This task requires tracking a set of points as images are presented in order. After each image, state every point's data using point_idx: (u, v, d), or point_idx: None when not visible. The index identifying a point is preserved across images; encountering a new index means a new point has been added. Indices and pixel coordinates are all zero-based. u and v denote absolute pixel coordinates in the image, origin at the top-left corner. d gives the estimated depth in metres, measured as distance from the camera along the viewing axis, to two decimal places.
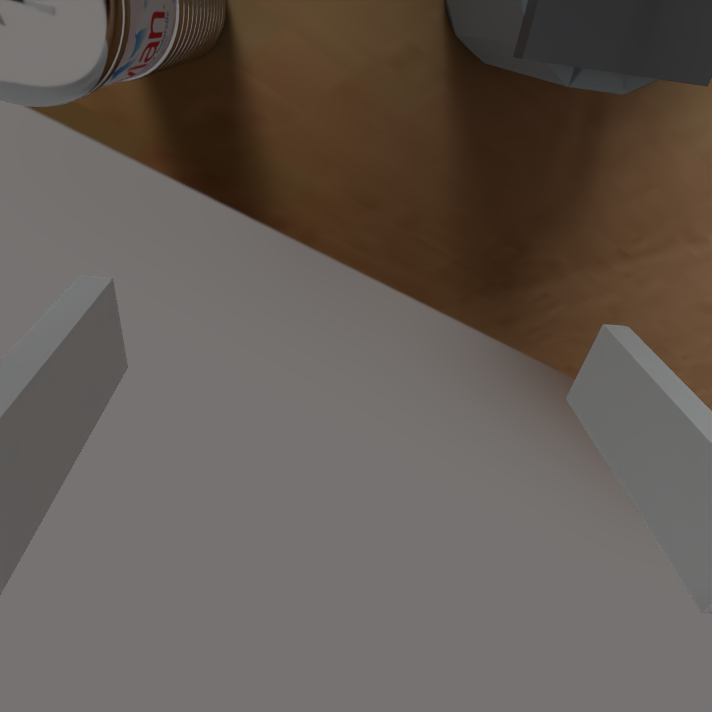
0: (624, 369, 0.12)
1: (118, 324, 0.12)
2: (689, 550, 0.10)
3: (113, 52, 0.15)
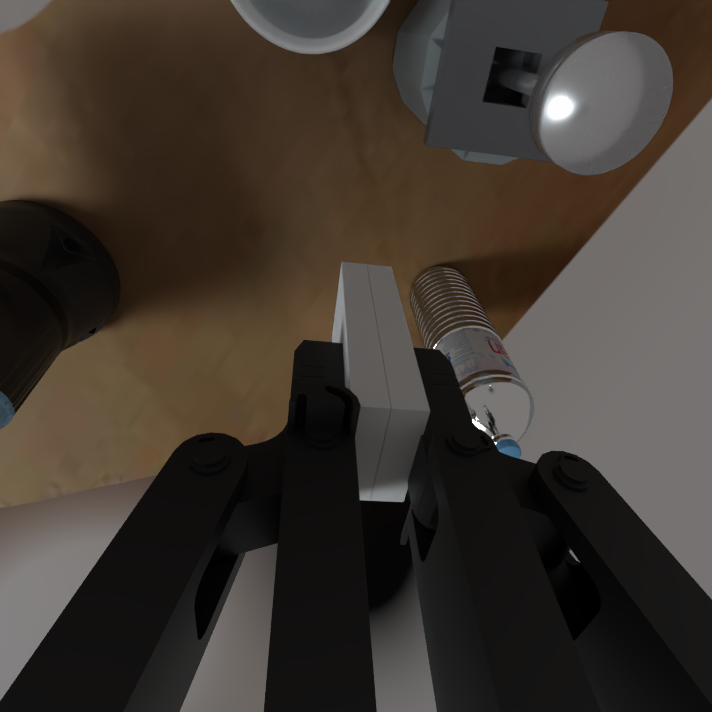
0: None
1: None
2: None
3: (521, 384, 0.36)
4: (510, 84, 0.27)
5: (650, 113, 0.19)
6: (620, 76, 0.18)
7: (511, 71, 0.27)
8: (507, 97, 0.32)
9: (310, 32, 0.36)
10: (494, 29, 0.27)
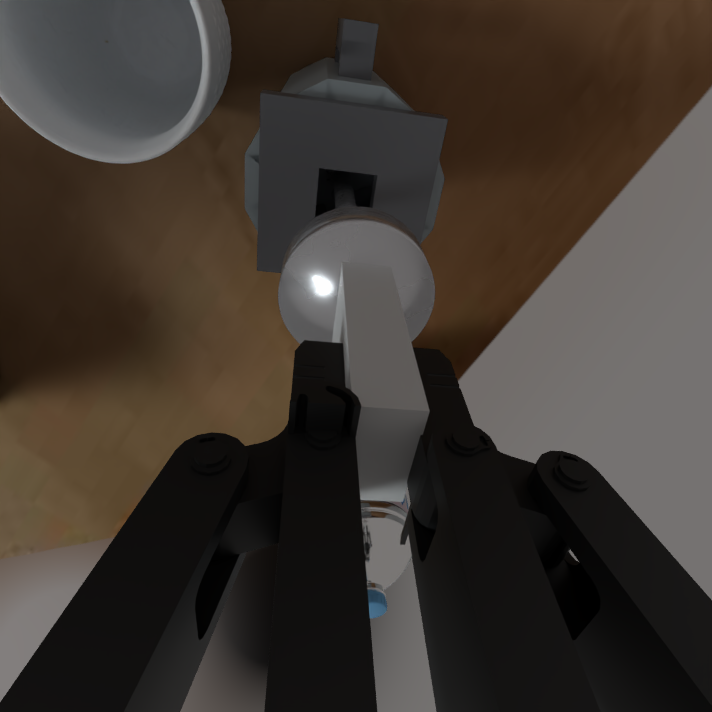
0: None
1: None
2: None
3: (396, 519, 0.32)
4: None
5: (414, 303, 0.16)
6: None
7: (338, 189, 0.24)
8: (362, 198, 0.29)
9: (158, 116, 0.32)
10: (313, 150, 0.22)
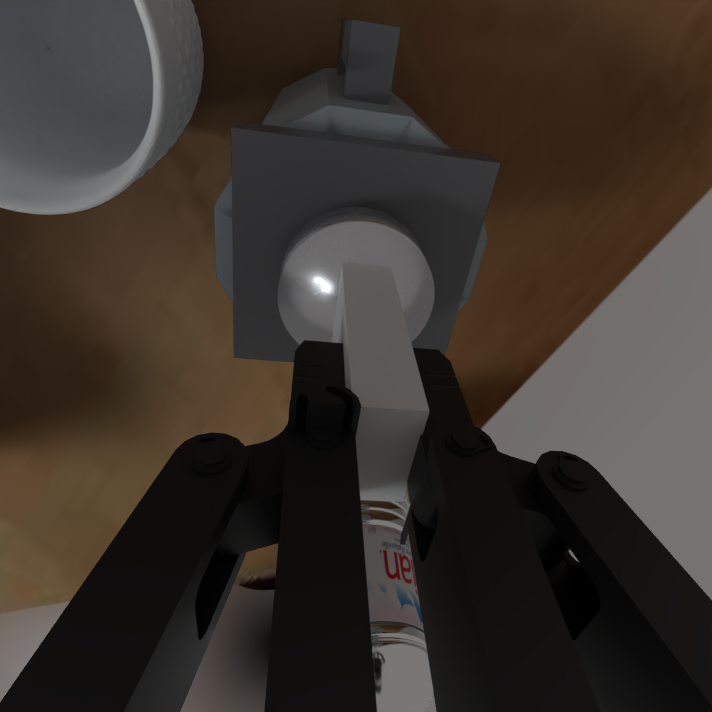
0: None
1: None
2: None
3: (415, 649, 0.25)
4: None
5: (413, 303, 0.15)
6: None
7: None
8: None
9: (114, 142, 0.25)
10: (309, 205, 0.16)
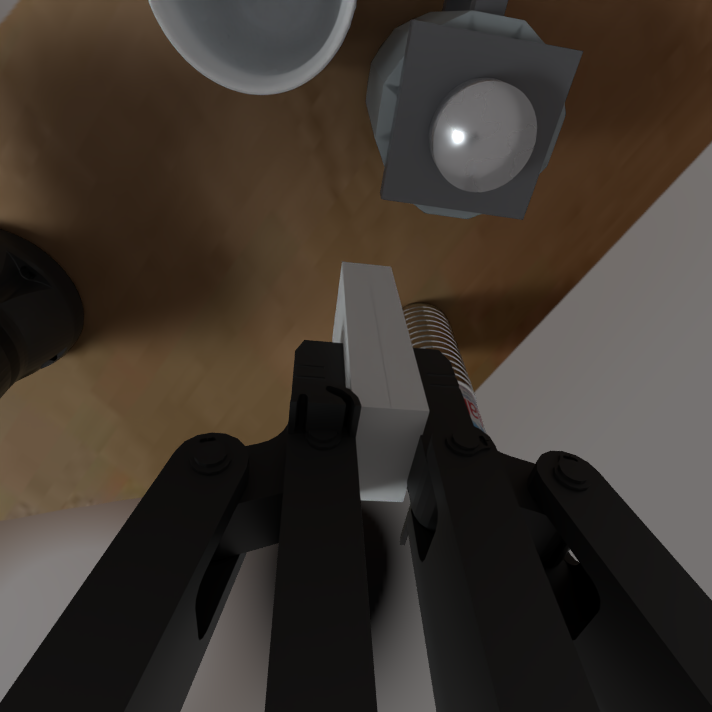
0: None
1: None
2: None
3: None
4: None
5: (521, 144, 0.23)
6: (492, 115, 0.23)
7: None
8: None
9: (272, 63, 0.33)
10: (453, 78, 0.24)
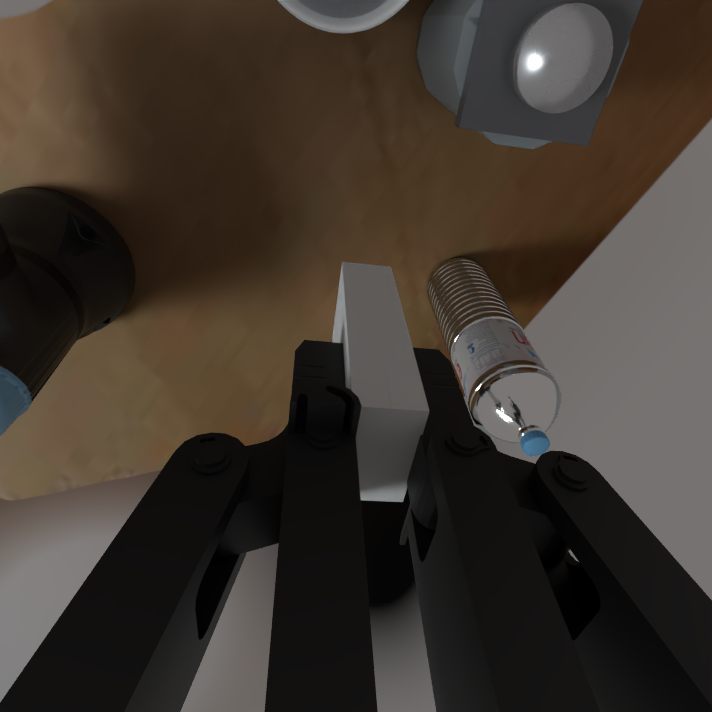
0: None
1: None
2: None
3: (548, 374, 0.35)
4: None
5: (597, 65, 0.26)
6: (574, 36, 0.25)
7: None
8: None
9: (336, 14, 0.35)
10: (533, 6, 0.26)
